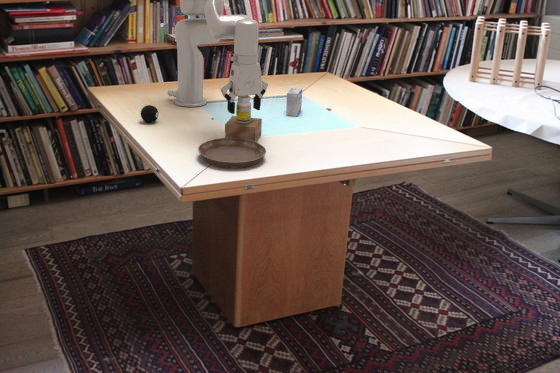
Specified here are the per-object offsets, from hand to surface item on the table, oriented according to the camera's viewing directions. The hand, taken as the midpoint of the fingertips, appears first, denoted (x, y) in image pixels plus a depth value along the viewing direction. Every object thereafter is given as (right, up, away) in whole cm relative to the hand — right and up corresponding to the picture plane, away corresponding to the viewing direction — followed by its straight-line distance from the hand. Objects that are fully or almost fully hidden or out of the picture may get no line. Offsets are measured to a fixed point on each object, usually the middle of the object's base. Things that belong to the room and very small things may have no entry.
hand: (244, 111), depth 232 cm
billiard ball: (-34, -2, +15) cm, 37 cm away
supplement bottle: (0, -3, +1) cm, 4 cm away
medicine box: (+17, +3, +34) cm, 38 cm away
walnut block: (0, -9, +4) cm, 10 cm away
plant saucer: (-3, -16, -14) cm, 21 cm away
